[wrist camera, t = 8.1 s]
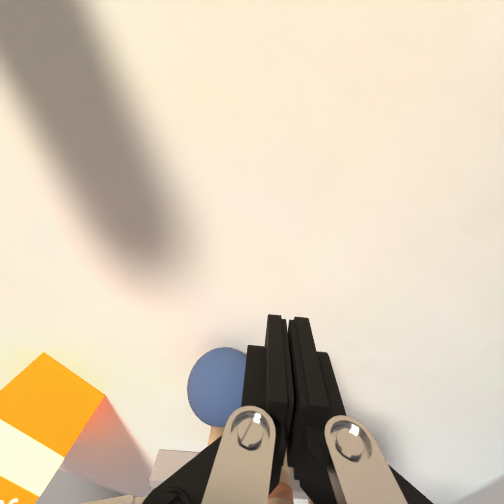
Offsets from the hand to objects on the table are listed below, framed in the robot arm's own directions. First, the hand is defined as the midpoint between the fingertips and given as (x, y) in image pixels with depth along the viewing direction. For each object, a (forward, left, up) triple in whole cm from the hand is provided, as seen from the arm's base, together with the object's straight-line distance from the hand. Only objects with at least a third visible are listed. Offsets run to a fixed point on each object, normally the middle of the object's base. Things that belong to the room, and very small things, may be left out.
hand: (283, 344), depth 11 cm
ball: (+3, +11, -8) cm, 14 cm away
